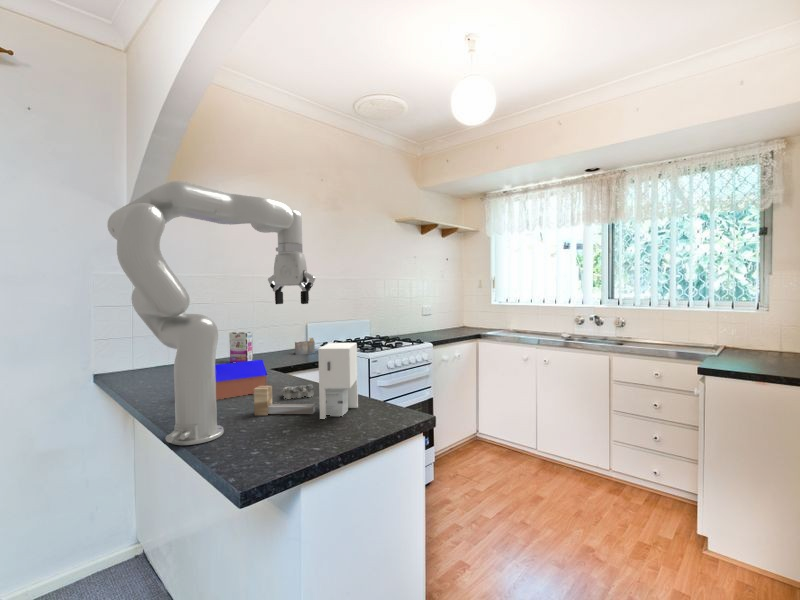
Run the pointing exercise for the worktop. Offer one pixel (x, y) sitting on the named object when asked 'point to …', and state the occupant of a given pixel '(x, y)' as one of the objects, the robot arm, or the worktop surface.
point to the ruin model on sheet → (305, 347)
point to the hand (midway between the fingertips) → (291, 303)
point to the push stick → (266, 407)
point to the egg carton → (298, 391)
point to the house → (239, 378)
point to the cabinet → (338, 372)
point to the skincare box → (336, 401)
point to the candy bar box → (241, 346)
